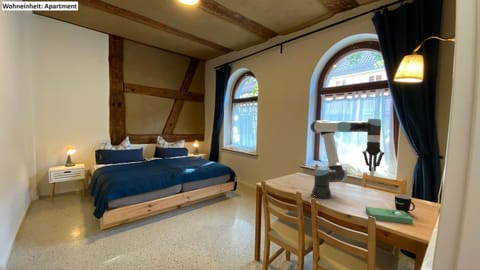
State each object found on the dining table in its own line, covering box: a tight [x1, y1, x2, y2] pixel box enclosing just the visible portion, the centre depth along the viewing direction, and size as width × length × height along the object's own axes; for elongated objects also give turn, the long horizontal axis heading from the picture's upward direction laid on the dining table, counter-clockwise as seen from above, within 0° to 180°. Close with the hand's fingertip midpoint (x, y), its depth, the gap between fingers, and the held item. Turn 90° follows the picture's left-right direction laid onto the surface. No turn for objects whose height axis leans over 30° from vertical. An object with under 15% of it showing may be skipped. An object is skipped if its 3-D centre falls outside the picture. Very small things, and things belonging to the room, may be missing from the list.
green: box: [365, 206, 414, 225], centre depth 136 cm, size 22×12×3 cm, turn 73°
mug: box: [394, 193, 416, 214], centre depth 144 cm, size 12×9×10 cm
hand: (371, 176), depth 143 cm, fingers closed
